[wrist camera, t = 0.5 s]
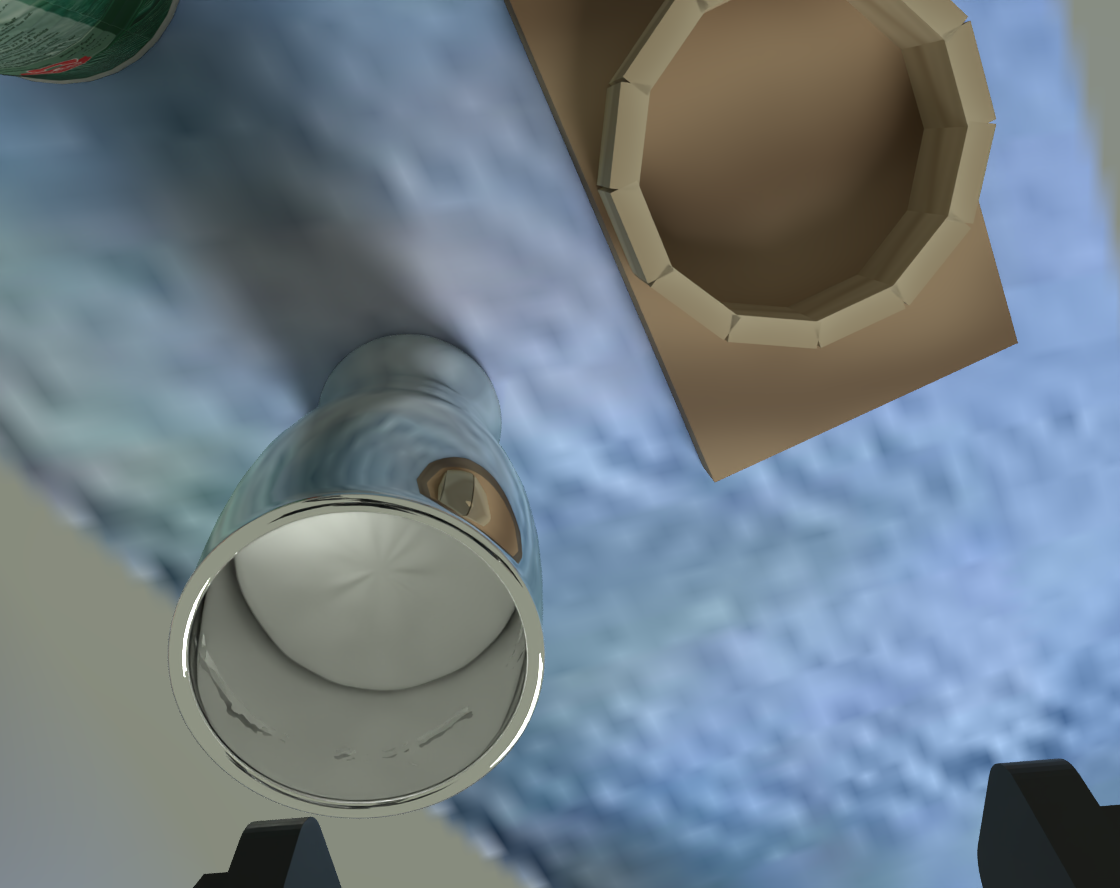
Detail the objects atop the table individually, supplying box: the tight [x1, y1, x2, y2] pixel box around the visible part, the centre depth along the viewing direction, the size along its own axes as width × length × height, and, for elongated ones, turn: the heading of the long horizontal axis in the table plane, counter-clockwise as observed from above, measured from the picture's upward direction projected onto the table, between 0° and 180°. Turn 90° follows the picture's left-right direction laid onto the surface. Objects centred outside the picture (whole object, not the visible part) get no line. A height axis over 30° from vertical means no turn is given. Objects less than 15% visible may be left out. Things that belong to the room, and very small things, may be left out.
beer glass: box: [168, 334, 545, 819], centre depth 23 cm, size 7×7×15 cm
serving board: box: [504, 0, 1018, 482], centre depth 26 cm, size 18×11×4 cm, turn 24°
